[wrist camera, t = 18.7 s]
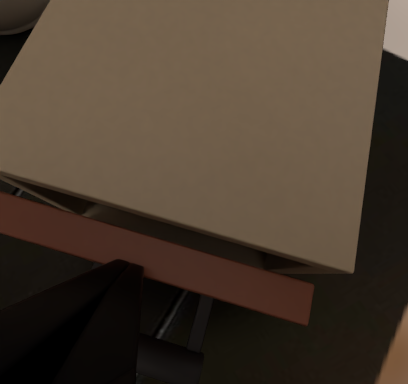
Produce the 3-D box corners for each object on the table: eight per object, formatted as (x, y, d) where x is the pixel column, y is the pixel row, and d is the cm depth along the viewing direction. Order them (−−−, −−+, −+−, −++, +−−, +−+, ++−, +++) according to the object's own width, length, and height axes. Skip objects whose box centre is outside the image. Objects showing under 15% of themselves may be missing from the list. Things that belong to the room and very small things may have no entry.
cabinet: (274, 274, 15) (354, 274, 7) (73, 215, 16) (-44, 158, 8) (315, 73, 19) (398, -67, 11) (152, 31, 20) (123, -128, 12)
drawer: (241, 392, 13) (280, 497, 7) (30, 324, 13) (-106, 365, 7) (304, 96, 17) (362, 1, 11) (145, 55, 18) (119, -56, 12)
